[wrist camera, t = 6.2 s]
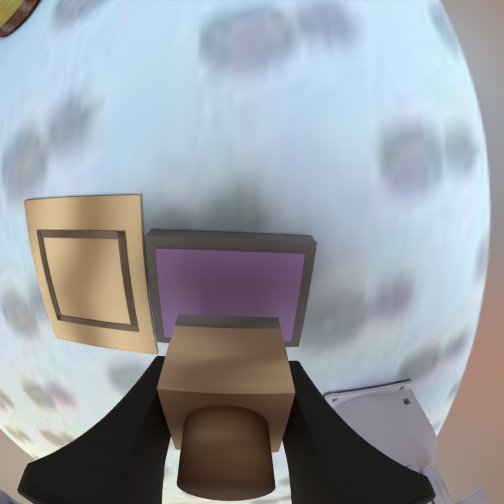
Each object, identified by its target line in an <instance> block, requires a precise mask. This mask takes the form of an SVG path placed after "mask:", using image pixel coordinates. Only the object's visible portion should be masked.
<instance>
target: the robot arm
mask: <svg viewBox="0 0 504 504" xmlns="http://www.w3.org/2000/svg"><path fill="white" fill-rule="evenodd" d="M164 360H165V356H157V357H155V359H154V360H153V362H152V363H151V364H150V366H149V367H148V368H147V370H146V371H145V372H144V374H143V375H142V376H141V377H140V379H139V380H138V381H137V382H136V384H135V385H134V386H133V387H132V388H131V390H130V391H129V392H128V393H127V394H126V395H125V396H124V398H123V399H122V400H121V401H120V402H119V403H118V404H117V405H116V406H115V407H114V408H113V409H112V410H111V411H110V412H109V413H108V414H107V415H106V416H105V417H104V418H103V419H101V420H100V421H99V422H98V423H97V424H96V425H94V426H93V427H92V428H91V429H89V430H88V431H87V432H85V433H84V434H83V435H81V436H80V437H78V438H77V439H75V440H74V441H72V442H71V443H69V444H67V445H66V446H64V447H62V448H61V449H59V450H57V451H55V452H53V453H51V454H49V455H47V456H45V457H43V458H40V459H38V460H36V461H34V462H31V463H28V464H27V467H26V468H25V470H24V473H23V476H22V478H21V481H20V484H19V487H18V489H17V490H18V492H19V494H20V495H22V496H23V497H25V498H26V499H27V500H29V501H30V502H32V503H34V504H162V488H163V476H164V466H165V460H166V455H167V451H168V446H169V442H170V438H171V434H170V431H169V428H168V425H167V422H166V419H165V415H164V412H163V409H162V405H161V402H160V398H159V394H158V391H157V386H158V382H159V378H160V375H161V371H162V368H163V364H164ZM288 362H289V366H290V371H291V375H292V380H293V384H294V389H295V396H294V400H293V404H292V407H291V411H290V414H289V418H288V422H287V425H286V428H285V432H284V435H283V438H282V440H283V445H284V449H285V454H286V458H287V463H288V469H289V477H290V488H291V500H292V504H453V502H452V499H451V497H450V494H449V492H448V490H447V488H446V485H445V483H444V481H443V479H442V477H441V475H440V473H439V471H438V469H437V467H436V466H430V464H431V462H432V461H433V459H434V457H435V454H436V449H437V443H436V435H435V432H434V430H433V428H432V426H431V424H430V422H429V420H428V419H427V417H426V415H425V413H424V412H423V410H422V408H421V406H420V405H419V403H418V401H417V399H416V398H415V396H414V394H413V393H412V391H411V388H412V386H413V382H412V381H406V382H401V383H397V384H392V385H387V386H381V387H376V388H370V389H364V390H357V391H350V392H342V393H334V394H327V395H325V396H324V397H323V396H322V394H321V393H320V392H319V390H318V389H317V388H316V386H315V385H314V384H313V382H312V381H311V379H310V378H309V376H308V375H307V373H306V372H305V370H304V369H303V367H302V366H301V364H300V362H298V361H288ZM0 504H21V503H19V502H18V501H16V500H15V499H13V498H12V497H10V496H9V495H8V494H7V493H5V492H4V491H3V490H1V489H0ZM456 504H489V502H488V500H487V498H486V496H485V494H484V492H483V489H482V488H479V489H477V490H476V491H474V492H473V493H471V494H470V495H468V496H467V497H465V498H464V499H462V500H461V501H459V502H457V503H456Z"/></svg>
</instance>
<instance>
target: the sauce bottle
mask: <svg viewBox="0 0 504 504" xmlns="http://www.w3.org/2000/svg"><path fill="white" fill-rule="evenodd" d="M37 1H38V0H0V37H3V36H6V35H7V34H9V33H11V32H12V31H13V30H14V29H15V28H16V27H18V25H19V24H20V23H21V22H22V21H23V20H24V19H25V18H26V17H27V16H28V15H29V14H30V12H31V11H32V9H33V7H34V6H35V4H36V3H37Z"/></svg>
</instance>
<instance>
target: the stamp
mask: <svg viewBox="0 0 504 504" xmlns="http://www.w3.org/2000/svg"><path fill="white" fill-rule="evenodd" d="M157 391H158V394H159V398H160V402H161V405H162V409H163V412H164V415H165V419H166V422H167V425H168V428H169V431H170V434H171V437H172V440H173V443H174V446H175V449H179V450H181V452H180V460H179V468H178V477H177V486H178V487H179V488H180V489H181V490H182V491H184V492H186V493H188V494H191V495H194V496H197V497H201V498H205V499H211V500H221V501H239V500H249V499H254V498H259V497H262V496H265V495H267V494H270V493H271V492H273V491H274V489H275V479H274V470H273V462H272V453H271V452H278V451H279V448H280V445H281V442H282V438H283V435H284V432H285V428H286V425H287V422H288V418H289V414H290V411H291V407H292V404H293V400H294V396H295V389H294V384H293V380H292V375H291V371H290V366H289V362H288V357H287V353H286V349H285V344H284V340H283V335H282V331H281V327H280V322H279V318H278V317H239V316H210V315H190V314H178V316H177V320H176V323H175V326H174V330H173V333H172V336H171V340H170V343H169V346H168V350H167V353H166V357H165V360H164V364H163V368H162V371H161V375H160V378H159V382H158V386H157Z"/></svg>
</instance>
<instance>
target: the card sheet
mask: <svg viewBox="0 0 504 504" xmlns="http://www.w3.org/2000/svg"><path fill="white" fill-rule="evenodd" d="M24 205H25V214H26V222H27V229H28V235H29V241H30V246H31V252H32V256H33V261H34V266H35V270H36V274H37V278H38V282H39V286H40V290H41V293H42V297H43V300H44V304H45V307H46V310H47V313H48V316H49V319H50V322H51V325H52V328H53V331H54V334H55V336H56V338H58V339H62V340H67V341H72V342H77V343H82V344H87V345H92V346H98V347H104V348H110V349H117V350H123V351H131V352H138V353H146V354H155V355H157V353H158V349H157V344H156V338H155V332H154V326H153V319H152V313H151V305H150V298H149V290H148V281H147V272H146V261H145V250H144V236H143V218H142V195H99V196H75V197H58V198H43V199H30V200H25V201H24Z"/></svg>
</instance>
